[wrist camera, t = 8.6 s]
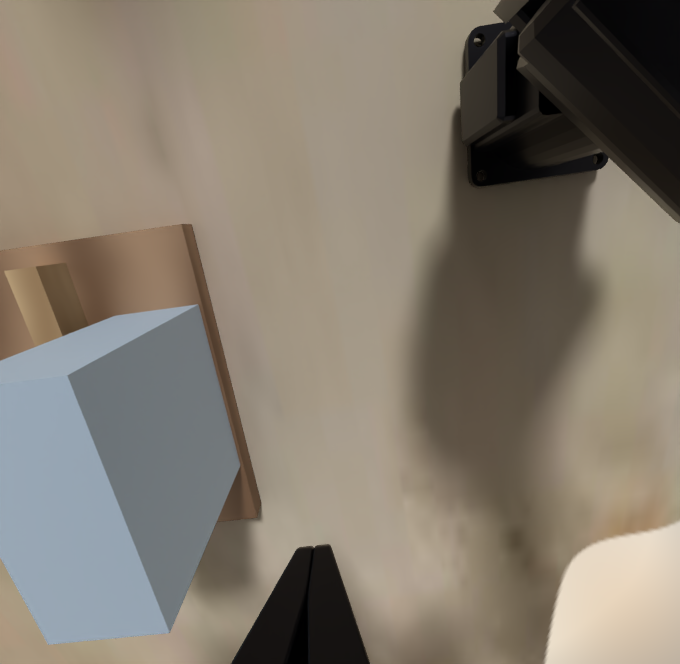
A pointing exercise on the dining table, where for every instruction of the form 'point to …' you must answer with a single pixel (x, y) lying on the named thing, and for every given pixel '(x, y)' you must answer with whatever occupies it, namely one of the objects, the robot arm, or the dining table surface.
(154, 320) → the blue block
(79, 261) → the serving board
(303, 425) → the dining table surface
